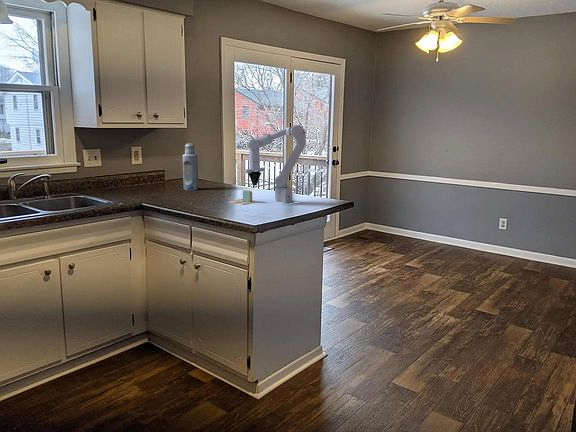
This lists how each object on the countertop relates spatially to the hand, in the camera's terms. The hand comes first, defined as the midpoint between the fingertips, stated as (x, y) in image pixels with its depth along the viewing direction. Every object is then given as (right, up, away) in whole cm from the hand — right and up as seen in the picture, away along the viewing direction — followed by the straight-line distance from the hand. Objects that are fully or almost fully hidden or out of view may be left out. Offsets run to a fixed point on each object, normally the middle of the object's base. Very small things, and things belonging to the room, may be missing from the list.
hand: (254, 185), depth 275 cm
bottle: (-45, 0, +47) cm, 65 cm away
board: (-6, -10, -4) cm, 12 cm away
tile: (-4, -9, -3) cm, 10 cm away
